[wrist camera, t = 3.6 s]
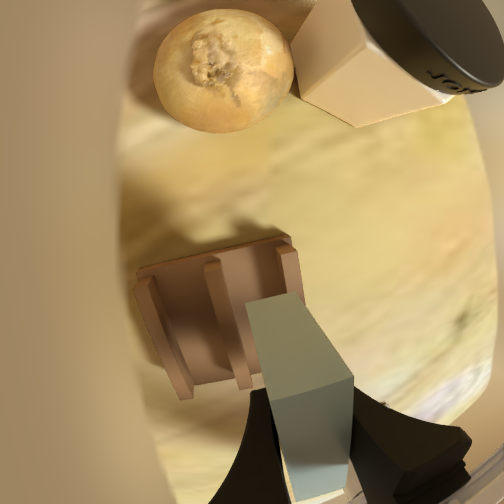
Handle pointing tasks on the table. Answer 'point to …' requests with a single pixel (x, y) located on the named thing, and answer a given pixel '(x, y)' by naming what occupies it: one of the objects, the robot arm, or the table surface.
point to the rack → (213, 309)
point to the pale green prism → (304, 393)
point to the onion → (223, 70)
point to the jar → (394, 56)
